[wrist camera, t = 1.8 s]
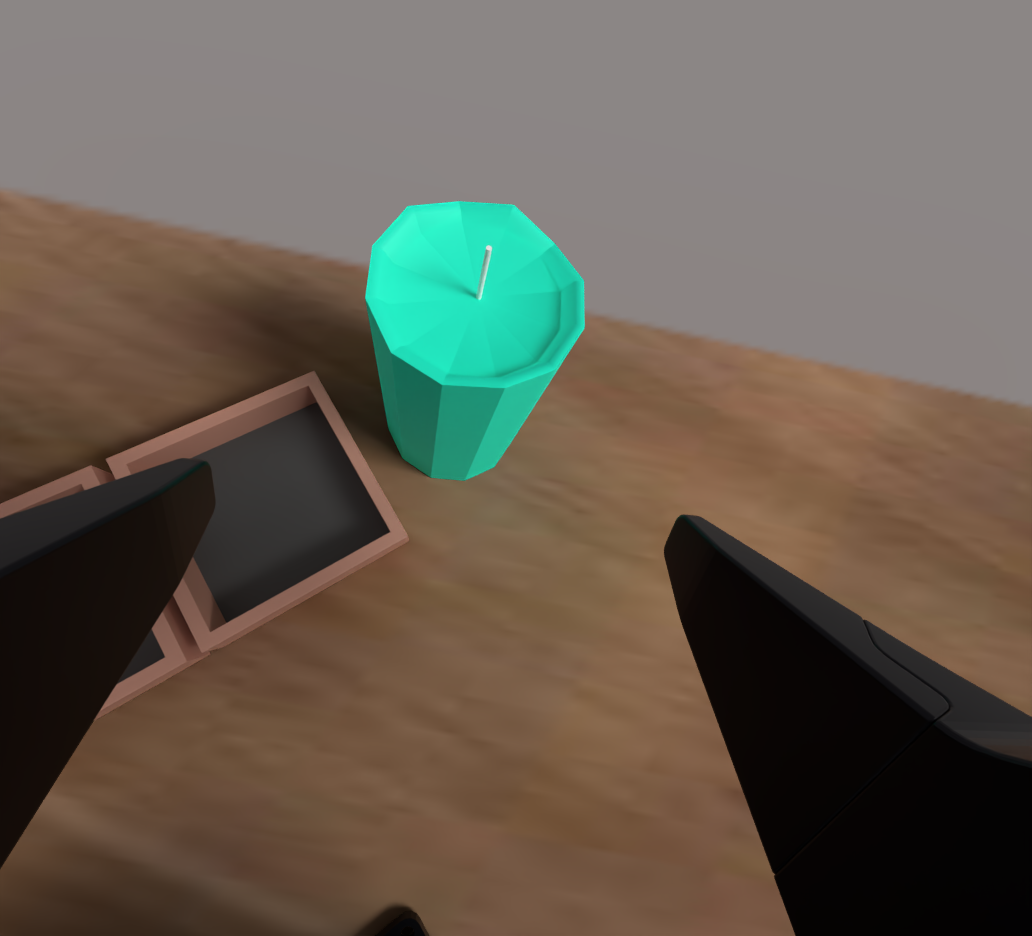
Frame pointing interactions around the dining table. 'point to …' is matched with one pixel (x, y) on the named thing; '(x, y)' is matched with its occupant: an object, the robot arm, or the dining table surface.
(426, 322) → the candle
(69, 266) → the dining table surface
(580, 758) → the dining table surface
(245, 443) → the tray
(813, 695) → the robot arm
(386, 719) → the dining table surface
